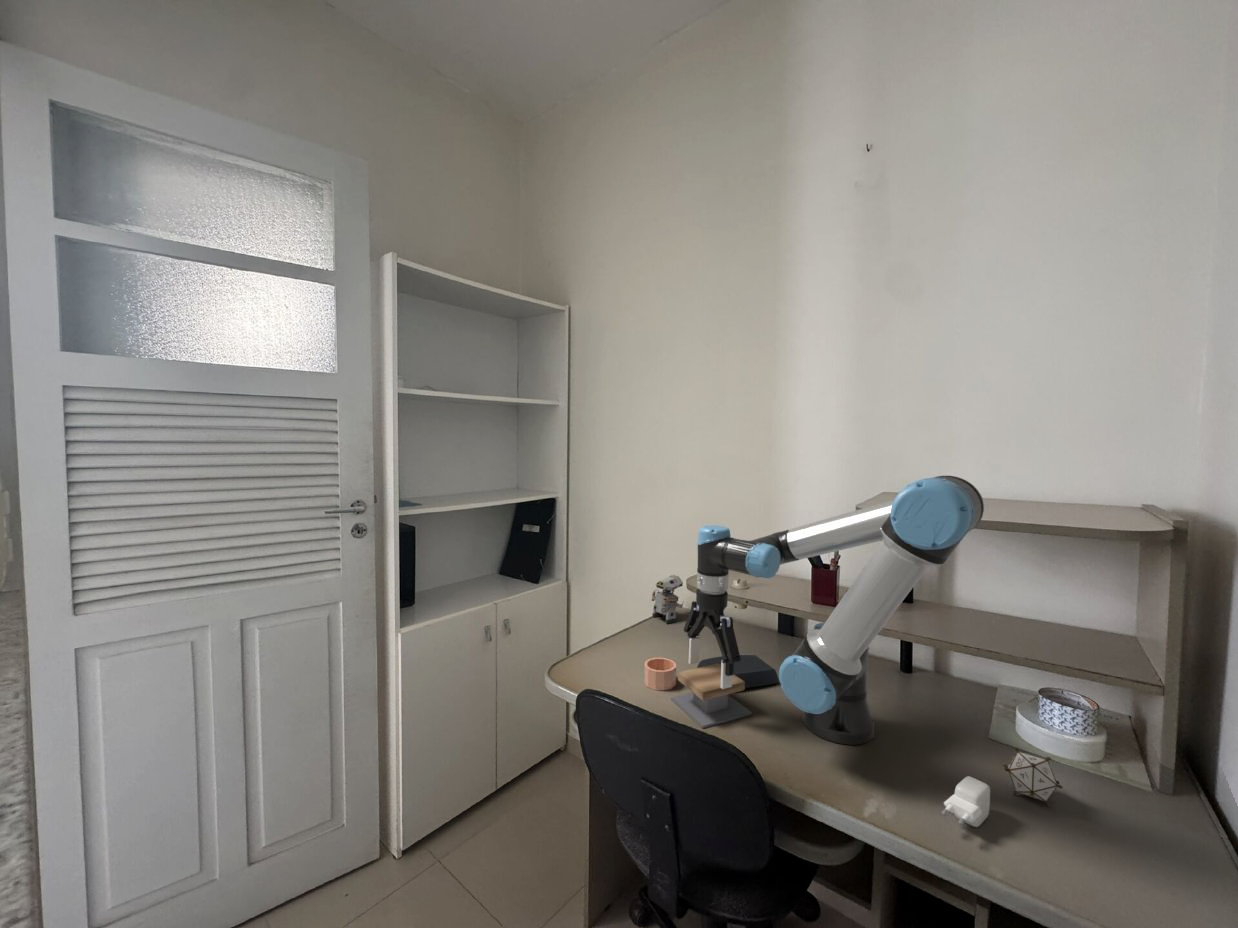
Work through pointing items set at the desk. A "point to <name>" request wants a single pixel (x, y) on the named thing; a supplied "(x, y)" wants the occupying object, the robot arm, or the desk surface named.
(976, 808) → the power adapter
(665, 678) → the bowl
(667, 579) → the figurine
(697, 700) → the cube on square base
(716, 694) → the lid
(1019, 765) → the game die
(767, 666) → the external hard drive
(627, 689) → the desk surface
